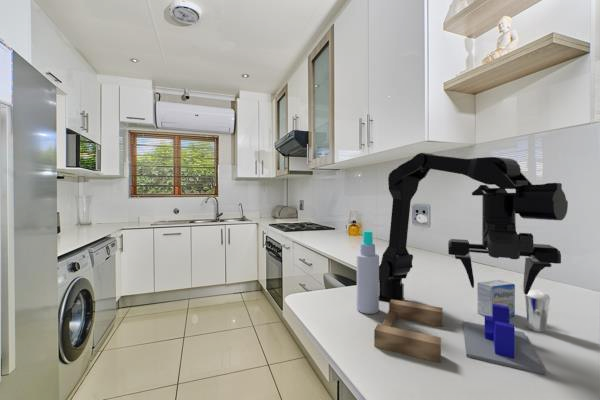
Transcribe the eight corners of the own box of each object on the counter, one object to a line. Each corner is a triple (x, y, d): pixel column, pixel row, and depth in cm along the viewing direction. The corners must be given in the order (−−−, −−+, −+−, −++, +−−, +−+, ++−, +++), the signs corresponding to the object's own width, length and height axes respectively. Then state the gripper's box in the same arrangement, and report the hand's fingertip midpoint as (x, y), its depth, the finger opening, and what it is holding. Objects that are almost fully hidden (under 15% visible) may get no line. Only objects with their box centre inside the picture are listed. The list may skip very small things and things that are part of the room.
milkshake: (520, 321, 70) (520, 282, 70) (548, 328, 66) (549, 286, 66) (519, 328, 66) (520, 287, 66) (550, 335, 63) (550, 292, 63)
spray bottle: (381, 308, 78) (381, 230, 78) (375, 316, 73) (375, 233, 73) (360, 304, 81) (360, 229, 81) (353, 311, 76) (353, 231, 76)
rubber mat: (466, 356, 55) (466, 353, 55) (462, 323, 69) (462, 321, 69) (545, 374, 49) (545, 371, 49) (523, 334, 63) (523, 332, 63)
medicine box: (492, 320, 71) (492, 286, 71) (476, 313, 75) (476, 281, 75) (515, 316, 73) (515, 283, 73) (499, 309, 77) (499, 279, 77)
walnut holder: (374, 346, 59) (374, 329, 59) (391, 311, 76) (391, 299, 76) (440, 362, 53) (440, 344, 53) (442, 321, 70) (442, 307, 70)
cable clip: (484, 327, 66) (484, 302, 65) (508, 332, 63) (508, 306, 63) (485, 351, 55) (486, 322, 55) (514, 358, 53) (514, 327, 53)
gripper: (448, 218, 56) (448, 295, 56) (573, 222, 47) (572, 313, 47) (448, 215, 66) (448, 280, 66) (551, 217, 57) (550, 293, 57)
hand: (498, 290), depth 59 cm, fingers open, 9 cm apart
